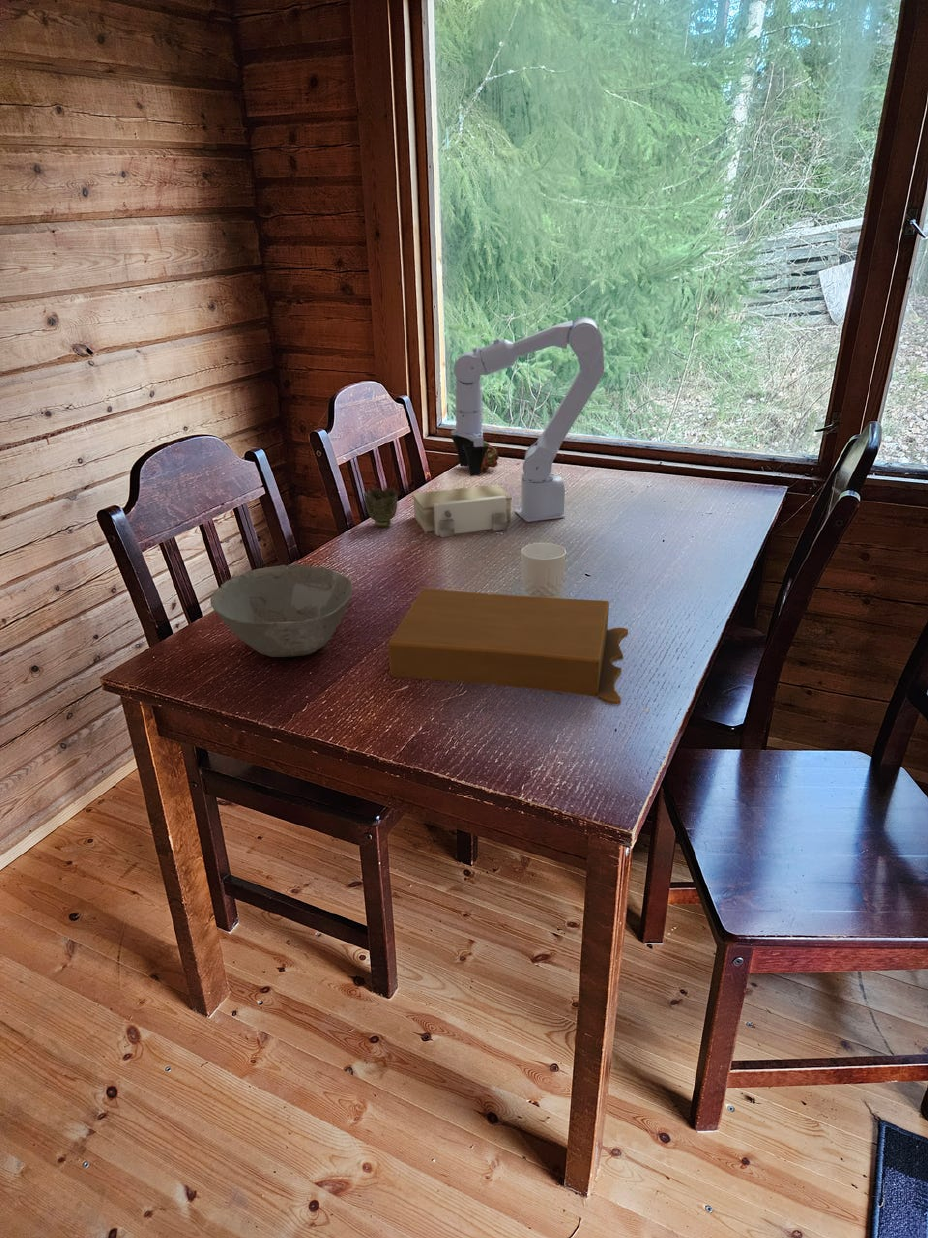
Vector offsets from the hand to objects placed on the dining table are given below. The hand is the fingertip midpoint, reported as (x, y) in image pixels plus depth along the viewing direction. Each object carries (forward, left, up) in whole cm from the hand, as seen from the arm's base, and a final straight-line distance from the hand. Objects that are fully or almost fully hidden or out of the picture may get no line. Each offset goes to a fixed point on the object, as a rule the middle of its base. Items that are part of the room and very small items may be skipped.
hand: (469, 470), depth 189 cm
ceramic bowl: (+47, +52, -11) cm, 71 cm away
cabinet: (+3, +5, -10) cm, 12 cm away
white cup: (+1, +50, -11) cm, 51 cm away
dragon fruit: (-12, -33, -11) cm, 37 cm away
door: (+3, +10, -11) cm, 15 cm away
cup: (+21, +1, -11) cm, 23 cm away
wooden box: (+13, +67, -11) cm, 69 cm away
